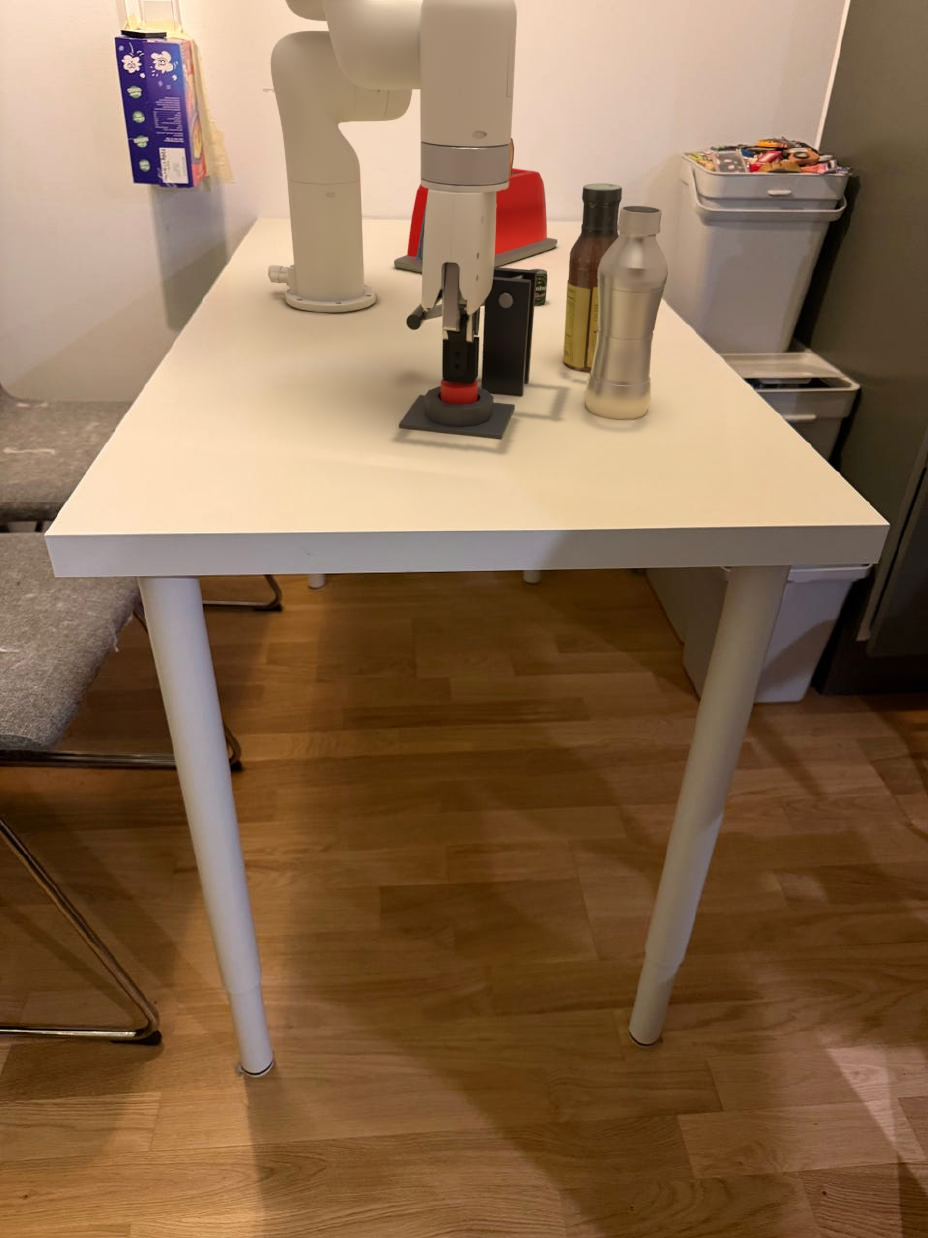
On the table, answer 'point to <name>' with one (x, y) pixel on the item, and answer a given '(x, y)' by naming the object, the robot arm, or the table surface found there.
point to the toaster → (515, 221)
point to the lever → (429, 313)
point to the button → (459, 392)
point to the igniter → (459, 415)
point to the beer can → (540, 286)
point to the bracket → (508, 331)
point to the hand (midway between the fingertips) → (460, 379)
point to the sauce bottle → (588, 272)
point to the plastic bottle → (627, 317)
